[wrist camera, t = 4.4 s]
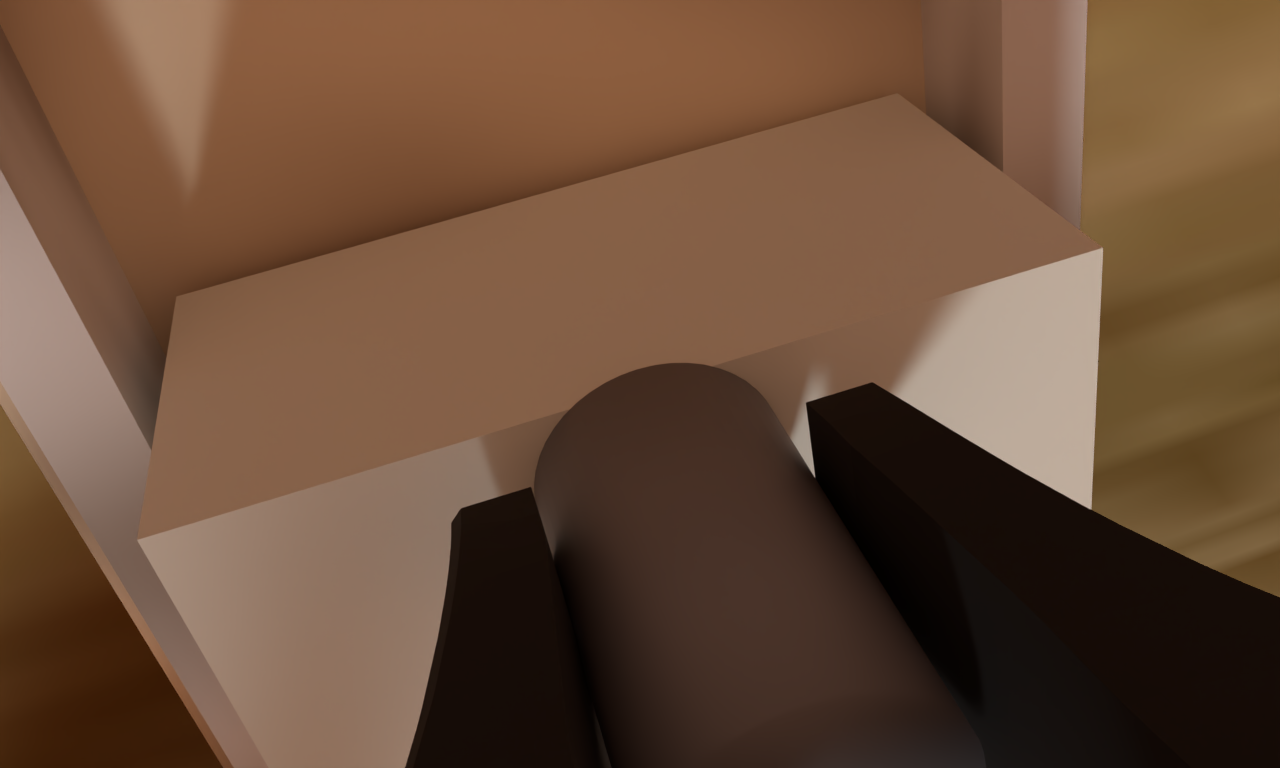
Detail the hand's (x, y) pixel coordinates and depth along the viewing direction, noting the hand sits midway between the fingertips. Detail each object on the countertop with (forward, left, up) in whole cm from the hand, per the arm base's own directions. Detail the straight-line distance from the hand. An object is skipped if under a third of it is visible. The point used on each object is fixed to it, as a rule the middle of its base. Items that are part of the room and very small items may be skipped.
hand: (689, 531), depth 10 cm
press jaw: (-2, 0, -6) cm, 6 cm away
